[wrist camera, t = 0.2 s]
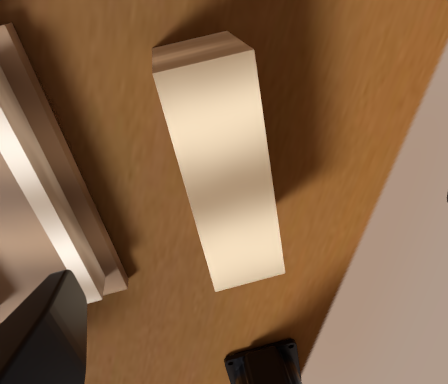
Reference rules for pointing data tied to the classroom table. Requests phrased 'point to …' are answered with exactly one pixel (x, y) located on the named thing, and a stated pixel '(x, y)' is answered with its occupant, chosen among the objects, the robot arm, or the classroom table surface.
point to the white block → (222, 153)
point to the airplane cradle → (43, 195)
